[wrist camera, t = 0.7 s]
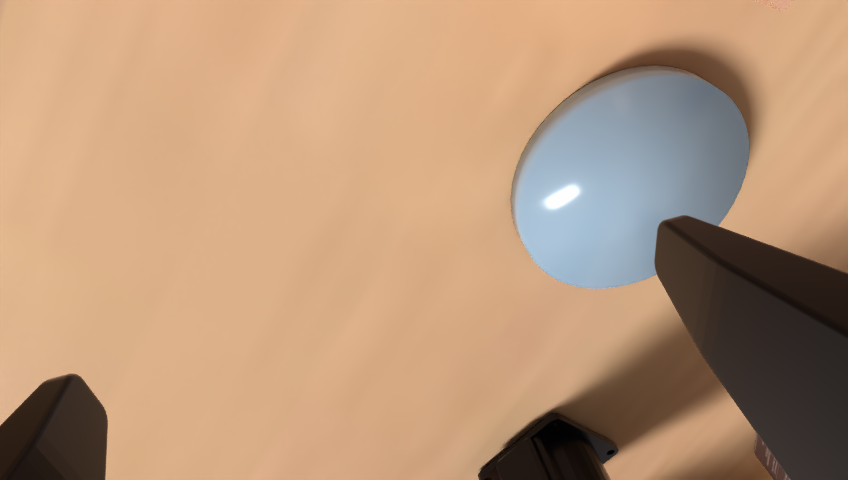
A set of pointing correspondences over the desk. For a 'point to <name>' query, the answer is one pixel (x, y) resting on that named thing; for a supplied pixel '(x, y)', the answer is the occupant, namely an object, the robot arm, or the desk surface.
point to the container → (776, 3)
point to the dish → (626, 172)
